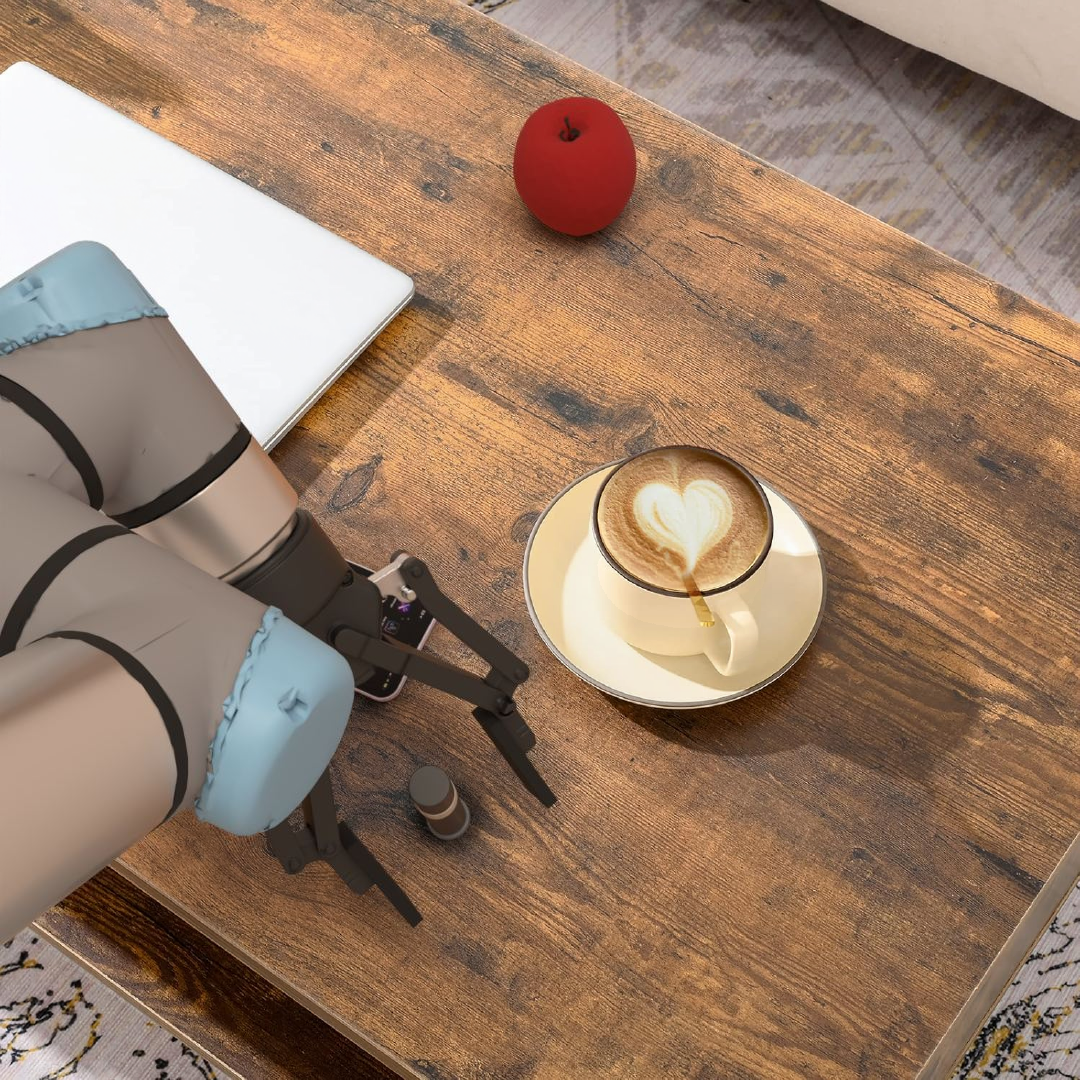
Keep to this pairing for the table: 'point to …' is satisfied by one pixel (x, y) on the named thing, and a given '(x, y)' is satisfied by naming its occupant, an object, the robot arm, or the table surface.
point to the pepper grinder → (439, 802)
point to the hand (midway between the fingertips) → (477, 852)
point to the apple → (575, 165)
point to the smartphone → (404, 627)
